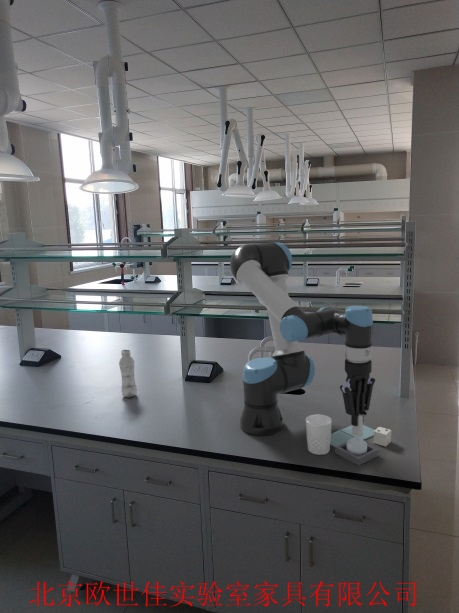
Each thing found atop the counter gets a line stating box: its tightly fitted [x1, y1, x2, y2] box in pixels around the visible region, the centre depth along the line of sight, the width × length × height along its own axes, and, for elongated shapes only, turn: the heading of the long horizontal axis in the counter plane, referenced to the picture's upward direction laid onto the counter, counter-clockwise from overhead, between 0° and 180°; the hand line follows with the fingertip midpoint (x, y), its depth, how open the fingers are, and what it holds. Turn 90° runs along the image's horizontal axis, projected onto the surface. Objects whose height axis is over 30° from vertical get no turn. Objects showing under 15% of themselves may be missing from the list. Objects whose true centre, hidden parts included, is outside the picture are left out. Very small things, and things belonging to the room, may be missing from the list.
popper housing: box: [334, 442, 380, 466], centre depth 135 cm, size 9×9×2 cm
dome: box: [346, 437, 368, 456], centre depth 134 cm, size 6×6×5 cm
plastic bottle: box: [118, 348, 138, 398], centre depth 186 cm, size 6×7×20 cm
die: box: [373, 426, 392, 448], centre depth 141 cm, size 4×4×4 cm
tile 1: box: [330, 429, 354, 448], centre depth 144 cm, size 9×9×1 cm
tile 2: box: [339, 424, 376, 441], centre depth 149 cm, size 9×9×1 cm
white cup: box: [305, 413, 333, 456], centre depth 138 cm, size 8×8×10 cm
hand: (357, 434), depth 134 cm, fingers closed
